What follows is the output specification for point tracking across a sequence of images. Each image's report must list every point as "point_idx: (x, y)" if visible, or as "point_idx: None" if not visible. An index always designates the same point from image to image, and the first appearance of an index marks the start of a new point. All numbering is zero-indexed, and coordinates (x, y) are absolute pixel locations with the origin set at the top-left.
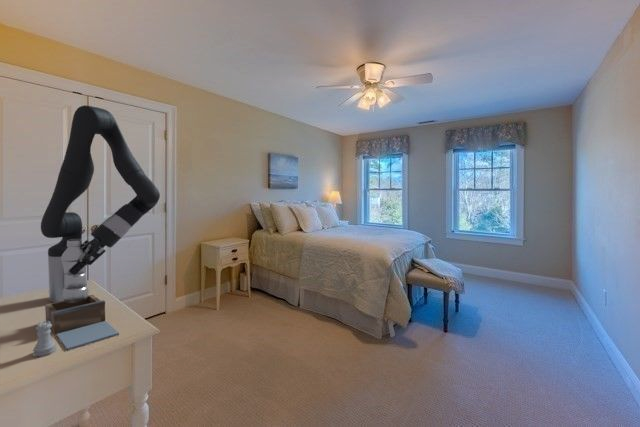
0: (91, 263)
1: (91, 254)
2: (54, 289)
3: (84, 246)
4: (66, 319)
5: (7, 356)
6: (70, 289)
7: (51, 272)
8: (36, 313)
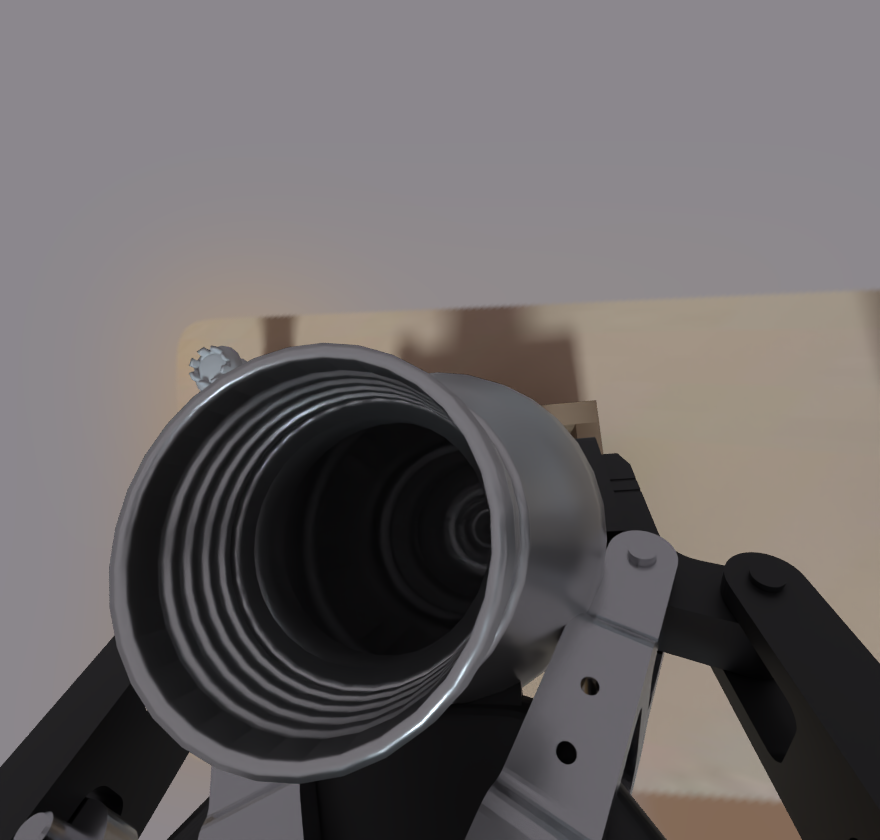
0: None
1: (69, 703)
2: None
3: (522, 777)
4: None
5: (333, 317)
6: (429, 488)
7: None
8: (765, 400)
